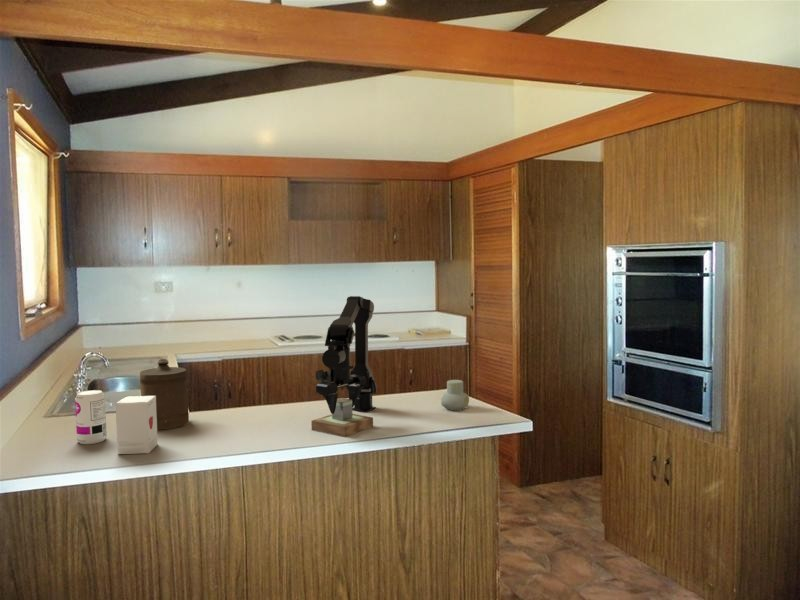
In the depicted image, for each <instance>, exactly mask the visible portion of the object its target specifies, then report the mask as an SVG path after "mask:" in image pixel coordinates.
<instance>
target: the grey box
mask: <svg viewBox="0 0 800 600" xmlns="http://www.w3.org/2000/svg"><path fill="white" fill-rule="evenodd" d="M331 414H332V413H331ZM352 414H353V410H352V399H349V398H345V397H340V398H339V397H338V398H337V403H336V409H335V413H334V414H332V419H335V420H340V421H345V420H348V419H351V418H352Z"/></svg>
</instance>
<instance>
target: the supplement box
mask: <svg viewBox="0 0 800 600" xmlns="http://www.w3.org/2000/svg"><path fill="white" fill-rule="evenodd" d="M115 417H116V419H115V420H116V444H117V448H116V449H117V455H135V454H138V455H139V454H150V452H152V451H153V450H154V449H155V447H157V446H158V445H159V444H158V430H157V414H156V396H140V395H137V396H130V395H129V396H126V397H123V398H122V399H120V400H118V401H117V402H116V403H115Z"/></svg>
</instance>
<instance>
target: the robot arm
mask: <svg viewBox="0 0 800 600" xmlns="http://www.w3.org/2000/svg"><path fill="white" fill-rule="evenodd" d="M374 311H375V304H374V302H373V301H372V300H371V299H368V298H364V297H363V296H359V295H357V296H356V295H349V296H348V297H347V298H346V303H345V305H344V307H343V309H342V311H341V313H340V314H339V318H336V319H334V320H333V321H332V322H331V323H330V325H329V326H328V328H327V332H326V338H325V343H324V346H325V347H327V350H325V351H324V352H323V354H322V357H321V360H322V363H323V365H324V366H325V367H327V368H328V370H326V371H325V370H323V369H319V370H316V371H315V378H316V379H315V380H316V381H317V382H319V383H317V384H316V385H315V393H317V394H319V395H321V396H322V397H323V398H324V399H325V401H326V404H327V406H328V409H329V411H330V414H334V413H335V409H336V403H337V399H339V397H338V396H339V393H338V390H339V389H340V388H343V387H345V388H346V389H347V392H348V399H352V411H356V412H357V411H358V412H363V413H364V412H365V413H366V412H369V411H371V410H376V409H377V407H376V406H373V395H374V394H377V392H378V391H377V390H378V389H377V383H376V381H375V378H374V375H373V370H372V368H371V367H370V365H369V340H368V339H369V323H370V322H371V320H372V318H373V314H374ZM353 324H354V327H353ZM353 340H354V346H355V347H354V365H352V364H351V348H350V347H351V344H353Z"/></svg>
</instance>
